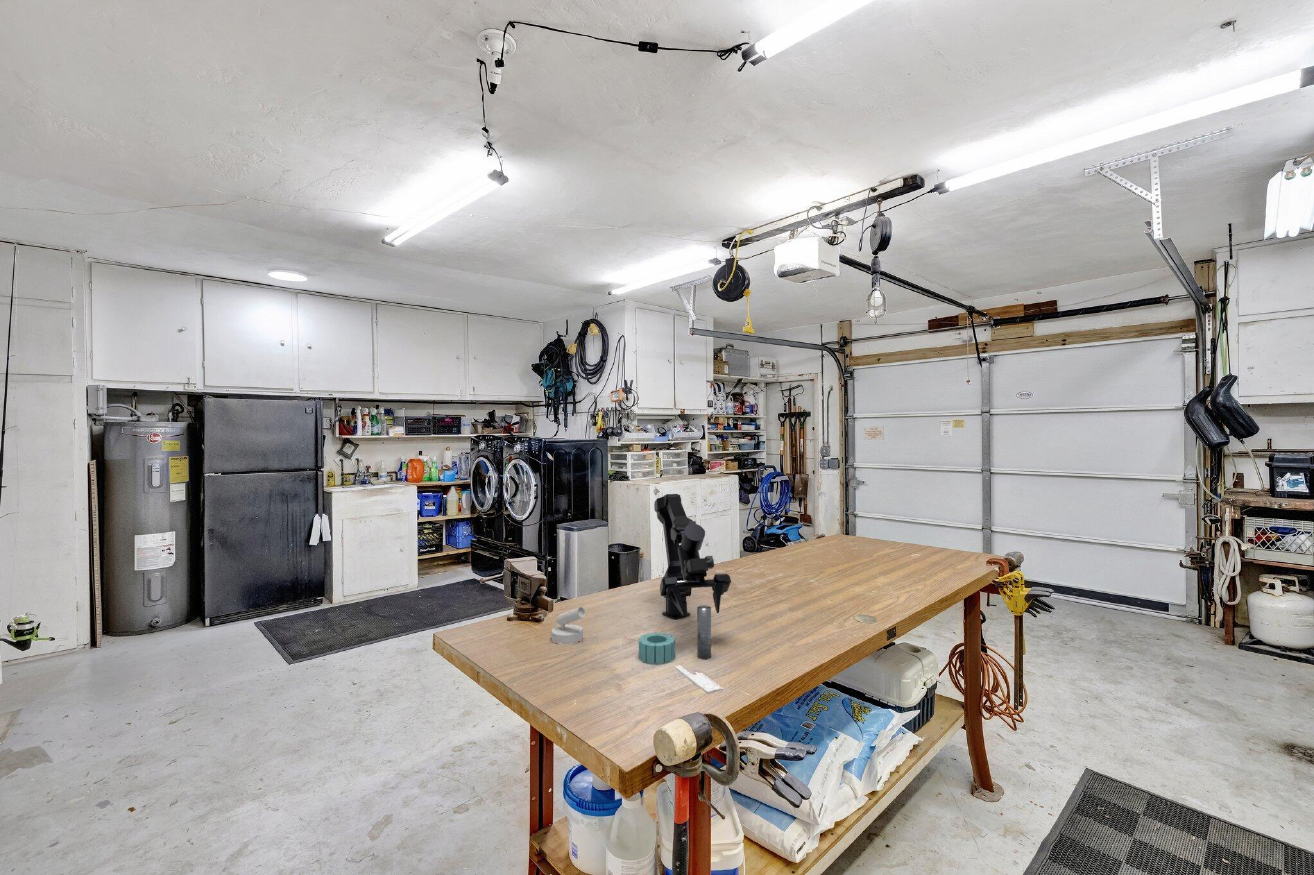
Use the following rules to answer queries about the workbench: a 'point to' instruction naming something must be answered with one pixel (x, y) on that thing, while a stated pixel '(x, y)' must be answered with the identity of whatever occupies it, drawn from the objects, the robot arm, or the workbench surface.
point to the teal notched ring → (656, 648)
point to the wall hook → (568, 627)
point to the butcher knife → (700, 680)
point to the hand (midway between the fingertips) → (701, 613)
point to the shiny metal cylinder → (704, 632)
